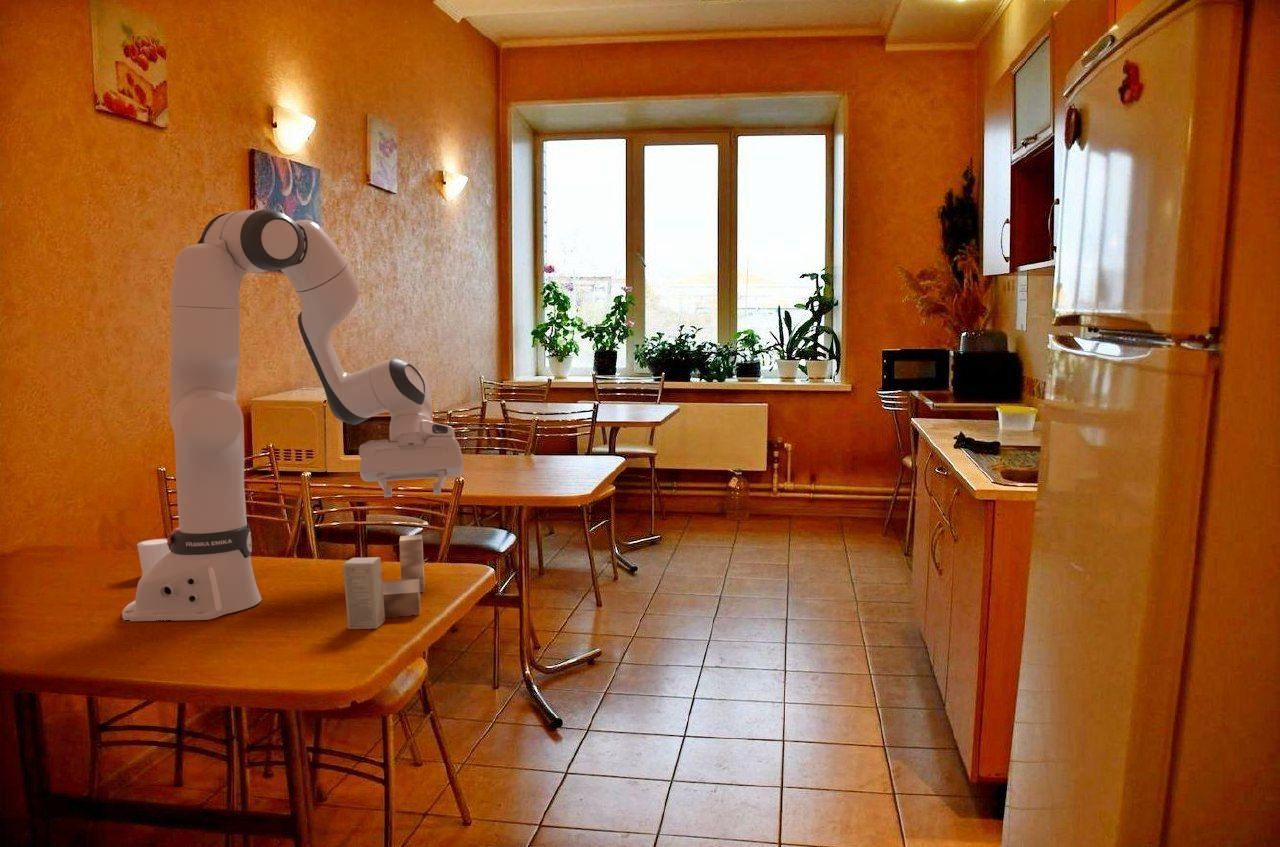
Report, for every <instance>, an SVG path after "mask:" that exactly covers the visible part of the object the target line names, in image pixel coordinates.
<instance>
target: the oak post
mask: <svg viewBox="0 0 1280 847" xmlns="http://www.w3.org/2000/svg"><path fill="white" fill-rule="evenodd" d="M423 542H424V541H423V534H412V535H411V534H409V535H400V537H399V558H400V559H399V560H400V580H410V579H420V592H423V593H425V589H426V588H425V586H426V585H425V567H424V566H425V564H424V543H423ZM424 588H425V589H424Z"/></svg>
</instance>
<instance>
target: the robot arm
mask: <svg viewBox="0 0 1280 847" xmlns="http://www.w3.org/2000/svg"><path fill="white" fill-rule="evenodd" d="M276 271H281V272H282V273H283V274H284V275H285V276H286V277H287V279H288V281H289V283H290V284H291V286H292V287H293V290H294V291H295V292H296V294H297V296H298V299H299V301H300V306H301V311H300V312H299V314H298V316H297V323H298V324H297V325H298V329H299V333H300V335H301V338H302V340H303V343H304V345H305V349H306V351H307V353H308V354H309V357H310V360H311V362H312V364H313V366H314V369H315V371H316V373H317V375H318V377H319V380H320V382H321V384H322V387H323V390H324V393H325V396H326V397H325V398H326V400H327V404H328V407H329V410H330V411H331V413H332V414H333V416H334V417H335V418H336V419H337V420H340V421H341V422H343V423H346V424H349V425H353V426H355V425H356V426H357V425H358V424H360V423H362V422H365V421H367V420H369V419H371V418H372V417H375V416H377V415H380V414H383V413H385V412H388V411H389V415H390V417H391V418H390V423H389V436H388V438H389V439H378V440H373V439H372V440H367V441H366V442H363V443H362V444H361V445H360V446H359V447H358V456H359V457H360V461H359V475H360V478H361V479H362V480H363V481H364V482H366V483H373V482H378V485H379V487H380V488H381V489H382V491H383V495H384V498H392V497H393V488H392V484H391V485H387V482H388V481H390V482H391V481H392V482H393V481H404V480H406V481H407V480H420V479H421V480H423V479H438V480H437V481H436V482H432V490H433V491H432V492H433V495H441V494H442V491H441V490H442V487H443V486H444V484H445V483H446V481H447V478H455V477H456V478H457V477H460V476H461V475H462V474H463V473H464V463H463V462H464V461H463V455H462V450H461V447H460V444H459V441H458V440H457V439H456V434H455V430H454V428H453V427H452V426H450V425H446V424H442V423H441V424H440V423H437V422H434V421H433V420H432V415H433V399H432V392H431V388H430V385H429V381H428V379H427V377H426V376H425V375H424V374H423V373H422V372H421V371H419V370H417V368H416V367H415V366H414V365H412V364H411V363H409V362H407V361H405V360H403V359H401V358H397V357H393V358H389V359H386V360H384V361H380V362H378V363H375V364H373V365H371V366H368V367H366V368H363V369H360V370H358V371H356V372H353V373H350V372H346V371H345V370H344V369H343V366H342V365H341V362H340V358H339V357H338V354H337V352H336V349H335V347H334V345H333V343H332V339H331V333H332V332H333V331H334V330H335V329H336V328H337V326H339V325H340V324H341V323H342V322H343V321H344V320H345V319H346V318H347V317H348V316H349V314H350V313H351V311H352V310H353V309H354V308H355V305H356V303H357V301H358V298H359V292H360V288H359V287H360V286H359V282H358V280H357V278H356V275H355V273H354V271H353V269H352V268H351V266H350V264H349V262H348V261H347V259H346V258H345V256H344V255H343V254H342V252H341V251H340V249H339V248H338V246H337V245H336V244H335V242H334V241H333V240H332V239H331V237H330V236H329V235H328V234H327V233H326V232H325V230H323V228H322V227H321V226H320V225H319V224H318V223H316V222H315V221H312V220H309V219H300V220H294V219H293V218H291V217H289V216H288V215H287V214H285V213H283V212H280V211H277V210H273V209H267V208H265V209H256V210H255V209H254V210H253V209H241V210H235V211H233V212H225V213H222V214H219V215H216V216H215V217H213V218H212V219H211V220H209V221H208V223H207V224H206V226H205V227H204V228H203V231H202V233H201V236H200V238H199V240H198V241H197V243H195V244H190V245H188V246H186V247H184V248H182V250H180V251H179V252H178V254H177V256H176V259H175V263H174V268H173V273H172V283H171V291H170V376H169V377H170V381H169V382H170V383H169V384H170V385H169V386H170V389H169V421H170V425H171V428H172V430H173V439H174V455H175V456H174V457H175V478H176V479H175V481H176V482H175V484H176V486H175V487H176V499H177V511H178V527H176V528H174V529H172V530H171V532H170V534H169V535H168V536H167V538H168V539H167V541H168V542H167V545H168V546H169V550H170V552H169V553H168V554H167V555H166V556H164V557H163V558H162V559H161V560H160V561H158V562H157V563H156V564H155V565H154V566H153V567H151V568H150V569H149V570H148V571H147V572H146V573H145V574H144V575H143V574H142V576H141V577H140V578H139V580H138V583H137V586H136V592H135V599H134V600H133V601H131V602H130V603H128V604H127V605H126V606H125V607H124V608H123V609H122V611H121V612H122V614H121V619H122V618H123V619H124V620H123V619H122V620H123V621H125V620H130V621H129V622H159V621H158V620H161V621H160V622H163V621H162V620H164V621H166V620H171V622H173V621H206V620H207V621H208V620H213V619H216V618H219V617H221V616H224V615H228V614H232V613H236V612H240V611H243V610H246V609H249V608H252V607H254V606H256V605H258V604H259V603H260V602H261V601H262V597H261V594H260V591H259V589H258V588H259V587H258V585H257V583H256V578H255V575H254V571H253V570H254V569H253V565H252V564H253V563H252V560H251V555H252V551H253V550H252V549H253V547H252V546H253V545H252V532H251V529H250V524H249V523H248V522H247V507H246V506H247V505H246V493H245V489H246V488H245V426H244V425H245V422H244V420H245V419H244V415H243V414H244V413H243V411H242V409H241V407H240V406H239V404H238V402H237V399H238V398H237V396H238V394H237V393H238V377H239V375H238V374H239V365H240V364H239V363H240V357H241V356H240V355H241V324H240V323H241V320H240V319H241V316H240V315H241V310H240V308H241V306H240V304H241V303H240V300H241V299H240V290H241V285H242V282H243V279H244V276H245V275H246V274H247V273H250V274H258V273H264V272H276ZM156 620H157V621H156ZM166 622H167V621H166Z"/></svg>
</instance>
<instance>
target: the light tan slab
mask: <svg viewBox="0 0 1280 847" xmlns="http://www.w3.org/2000/svg"><path fill="white" fill-rule="evenodd" d="M382 586H383V599H384V612H385V617H388V618H398V616H402V617H412V616H411V615H415V616H420V612H421V611H420V610H421V602H420V601H422V600H421V593H420V579H410V580H401V579H398V580H397V579H395V580H382ZM419 611H420V612H419Z"/></svg>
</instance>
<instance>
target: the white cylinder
mask: <svg viewBox="0 0 1280 847" xmlns="http://www.w3.org/2000/svg"><path fill="white" fill-rule="evenodd" d="M167 539H168V537H167V538H166V537H164V538H163V537H162V538H153V539H147V540H142V541H140V542H138V543H137V544H136V545H137V551H138V556H139V560H140V561H139V562H140V567H141V573H142V576H143V575H144V574H145V573H146V572H147V571H148V570H149V569H150V568H151V567H153V566H154V565H155V564H156V563H157V562H158V561H160V560H161V559H162V558H163V557H164V556H166V555H167V554H168V553H169V552H170V550H169V546H168V545H167V542H168V541H167Z"/></svg>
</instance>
